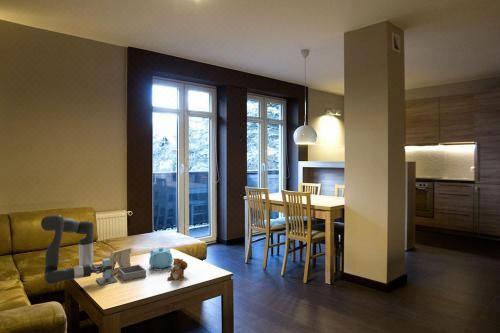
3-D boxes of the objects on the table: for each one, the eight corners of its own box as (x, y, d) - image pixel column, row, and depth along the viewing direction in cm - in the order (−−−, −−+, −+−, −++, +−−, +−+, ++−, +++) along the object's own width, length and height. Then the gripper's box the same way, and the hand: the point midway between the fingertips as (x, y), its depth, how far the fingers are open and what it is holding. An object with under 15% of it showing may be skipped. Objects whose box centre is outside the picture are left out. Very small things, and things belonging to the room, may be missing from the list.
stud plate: (96, 280, 225) (96, 274, 225) (112, 276, 231) (112, 271, 231) (100, 285, 215) (100, 279, 215) (117, 281, 221) (117, 275, 221)
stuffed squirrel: (166, 280, 222) (165, 260, 222) (176, 273, 236) (175, 254, 236) (180, 281, 220) (180, 261, 219) (189, 274, 233) (189, 255, 233)
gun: (111, 276, 232) (112, 253, 233) (106, 275, 233) (107, 253, 234) (131, 268, 256) (131, 247, 257) (126, 267, 257) (127, 247, 258)
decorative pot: (173, 262, 262) (172, 244, 261) (172, 269, 246) (172, 249, 245) (150, 264, 259) (150, 245, 258) (148, 270, 243) (148, 251, 243)
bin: (118, 275, 235) (118, 268, 234) (139, 271, 243) (139, 264, 242) (124, 281, 222) (124, 274, 222) (146, 276, 230) (146, 270, 230)
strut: (102, 277, 224) (102, 259, 224) (109, 275, 226) (108, 258, 226) (104, 278, 221) (103, 260, 220) (110, 277, 223) (110, 259, 223)
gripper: (83, 268, 209) (113, 263, 219) (79, 262, 221) (108, 257, 231) (84, 280, 209) (114, 275, 219) (80, 274, 221) (108, 269, 231)
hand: (110, 266), depth 225 cm, fingers closed on strut, 4 cm apart
